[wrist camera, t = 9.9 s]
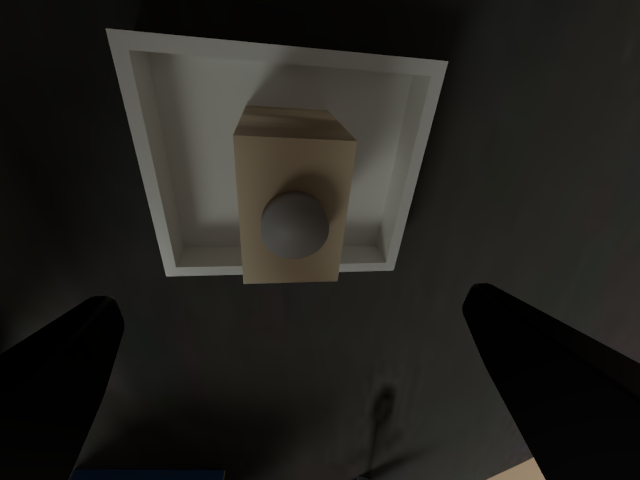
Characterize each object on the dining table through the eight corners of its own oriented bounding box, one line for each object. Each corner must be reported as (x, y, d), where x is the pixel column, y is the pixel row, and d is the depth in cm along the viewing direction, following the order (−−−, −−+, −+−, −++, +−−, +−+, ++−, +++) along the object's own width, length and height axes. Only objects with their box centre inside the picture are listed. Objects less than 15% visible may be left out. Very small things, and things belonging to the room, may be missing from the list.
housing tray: (178, 250, 19) (166, 276, 16) (132, 32, 13) (105, 28, 11) (380, 248, 21) (393, 270, 19) (423, 59, 15) (448, 61, 13)
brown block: (250, 216, 17) (242, 297, 12) (245, 105, 14) (230, 142, 9) (318, 216, 18) (341, 293, 12) (328, 110, 15) (363, 147, 9)
